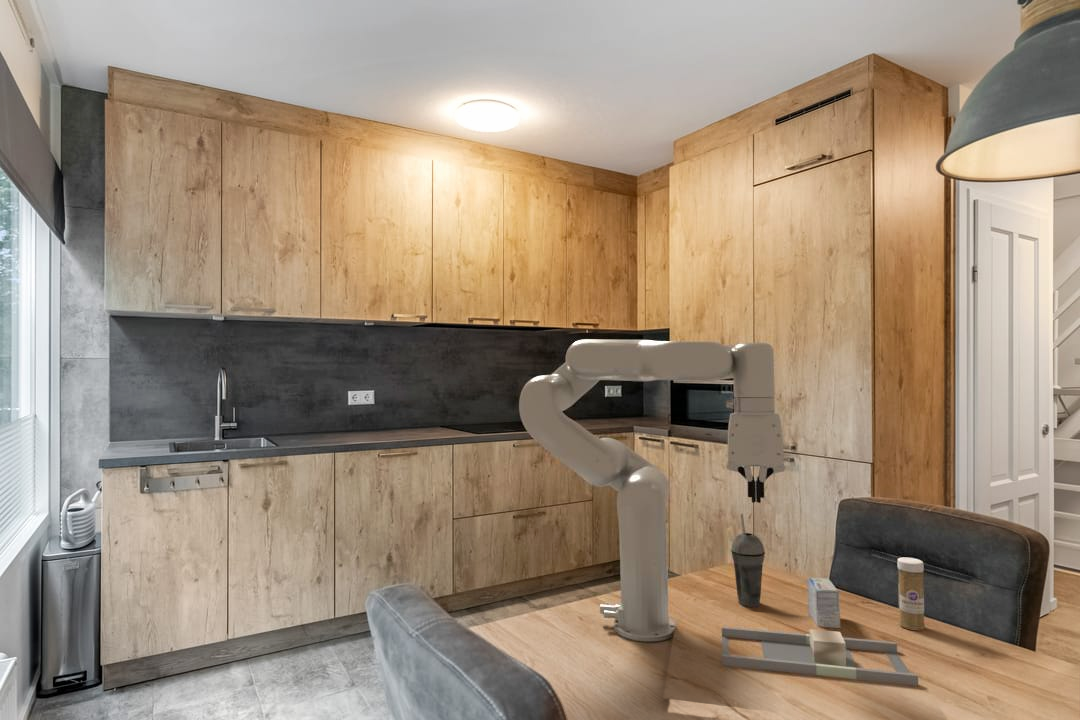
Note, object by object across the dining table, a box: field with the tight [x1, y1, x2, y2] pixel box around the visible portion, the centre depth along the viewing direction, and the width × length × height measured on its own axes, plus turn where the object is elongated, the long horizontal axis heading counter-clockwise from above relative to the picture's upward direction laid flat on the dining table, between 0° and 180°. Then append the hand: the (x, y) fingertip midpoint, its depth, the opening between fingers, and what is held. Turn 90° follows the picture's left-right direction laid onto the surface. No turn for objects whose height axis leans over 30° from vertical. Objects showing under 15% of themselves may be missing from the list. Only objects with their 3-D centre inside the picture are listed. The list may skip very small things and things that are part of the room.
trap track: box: [721, 626, 919, 687], centre depth 110 cm, size 30×13×3 cm, turn 74°
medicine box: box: [807, 577, 841, 628], centre depth 127 cm, size 8×4×9 cm, turn 168°
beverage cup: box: [730, 513, 766, 608], centre depth 141 cm, size 7×7×20 cm
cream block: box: [809, 628, 846, 667], centre depth 109 cm, size 5×5×4 cm
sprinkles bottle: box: [896, 556, 926, 631], centre depth 126 cm, size 5×5×14 cm
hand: (756, 501), depth 121 cm, fingers closed
